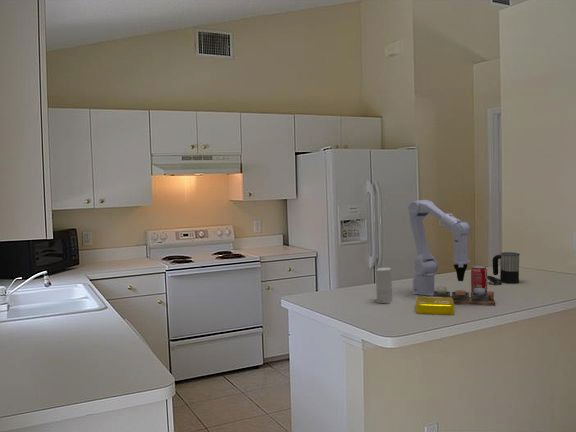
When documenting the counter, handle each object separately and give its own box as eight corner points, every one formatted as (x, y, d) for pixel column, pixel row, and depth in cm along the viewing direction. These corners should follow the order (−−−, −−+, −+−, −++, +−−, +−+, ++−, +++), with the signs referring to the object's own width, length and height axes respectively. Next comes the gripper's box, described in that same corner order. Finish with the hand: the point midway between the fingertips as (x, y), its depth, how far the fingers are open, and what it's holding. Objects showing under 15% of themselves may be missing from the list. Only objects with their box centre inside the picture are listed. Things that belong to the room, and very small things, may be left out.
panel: (427, 302, 247) (427, 292, 247) (428, 297, 257) (428, 287, 256) (495, 305, 239) (495, 294, 239) (493, 300, 249) (493, 289, 249)
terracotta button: (455, 299, 246) (455, 292, 246) (455, 296, 251) (455, 290, 250) (465, 299, 245) (465, 292, 245) (465, 297, 249) (465, 290, 249)
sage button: (436, 295, 249) (436, 288, 248) (436, 292, 253) (436, 286, 252) (446, 295, 247) (446, 288, 247) (446, 293, 252) (446, 286, 251)
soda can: (488, 296, 257) (488, 268, 256) (471, 295, 259) (472, 267, 258) (486, 292, 264) (486, 265, 263) (470, 292, 266) (470, 265, 264)
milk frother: (521, 281, 289) (521, 252, 287) (515, 287, 275) (515, 257, 274) (492, 278, 296) (492, 250, 295) (485, 284, 283) (485, 255, 282)
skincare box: (389, 303, 247) (389, 270, 245) (376, 303, 249) (375, 269, 247) (392, 299, 255) (392, 267, 253) (378, 299, 256) (378, 266, 255)
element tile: (452, 307, 240) (452, 296, 240) (454, 316, 226) (454, 304, 225) (416, 305, 244) (416, 294, 244) (416, 314, 229) (415, 303, 229)
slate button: (474, 296, 244) (474, 289, 244) (474, 294, 248) (474, 287, 248) (485, 296, 243) (485, 290, 243) (484, 294, 247) (484, 287, 247)
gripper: (470, 252, 238) (470, 284, 239) (469, 248, 252) (469, 278, 253) (453, 252, 240) (453, 283, 241) (453, 247, 254) (453, 277, 255)
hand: (460, 280), depth 247 cm, fingers closed
